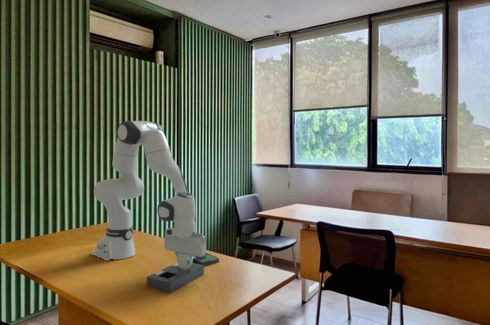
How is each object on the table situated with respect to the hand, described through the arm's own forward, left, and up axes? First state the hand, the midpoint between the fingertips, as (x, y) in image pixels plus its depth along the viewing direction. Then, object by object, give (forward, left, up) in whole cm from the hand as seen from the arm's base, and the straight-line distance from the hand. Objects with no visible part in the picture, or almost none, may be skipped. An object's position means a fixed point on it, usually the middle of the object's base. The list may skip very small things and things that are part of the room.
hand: (184, 263), depth 148 cm
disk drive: (-5, +19, -6) cm, 21 cm away
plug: (0, 0, -6) cm, 6 cm away
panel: (0, -6, -6) cm, 8 cm away
